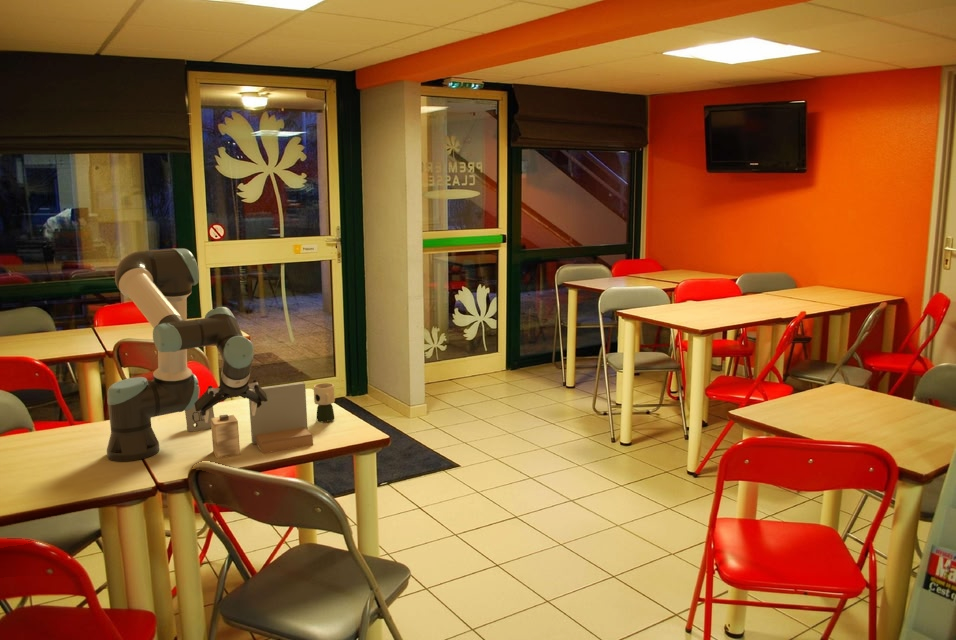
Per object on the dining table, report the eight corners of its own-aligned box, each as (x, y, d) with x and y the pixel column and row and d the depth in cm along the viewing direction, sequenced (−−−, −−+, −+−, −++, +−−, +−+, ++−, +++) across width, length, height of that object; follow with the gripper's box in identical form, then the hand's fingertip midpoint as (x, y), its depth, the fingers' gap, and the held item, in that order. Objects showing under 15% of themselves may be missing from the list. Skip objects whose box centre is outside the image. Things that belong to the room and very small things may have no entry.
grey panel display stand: (259, 453, 244) (256, 398, 240) (251, 442, 254) (248, 389, 251) (316, 444, 252) (313, 390, 248) (306, 433, 262) (303, 382, 259)
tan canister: (217, 458, 240) (214, 420, 238) (213, 451, 246) (210, 414, 244) (240, 454, 243) (237, 417, 241) (236, 447, 250) (233, 411, 247)
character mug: (312, 418, 279) (310, 382, 277) (331, 415, 282) (329, 380, 280) (319, 426, 269) (317, 390, 267) (339, 423, 272) (337, 387, 270)
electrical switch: (187, 432, 265) (185, 406, 264) (184, 430, 269) (182, 403, 268) (216, 428, 270) (213, 401, 269) (212, 425, 274) (210, 399, 273)
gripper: (190, 395, 209) (187, 432, 225) (282, 382, 220) (274, 419, 236) (185, 371, 213) (183, 410, 229) (277, 360, 224) (269, 398, 240)
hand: (229, 415), depth 232 cm, fingers open, 13 cm apart
